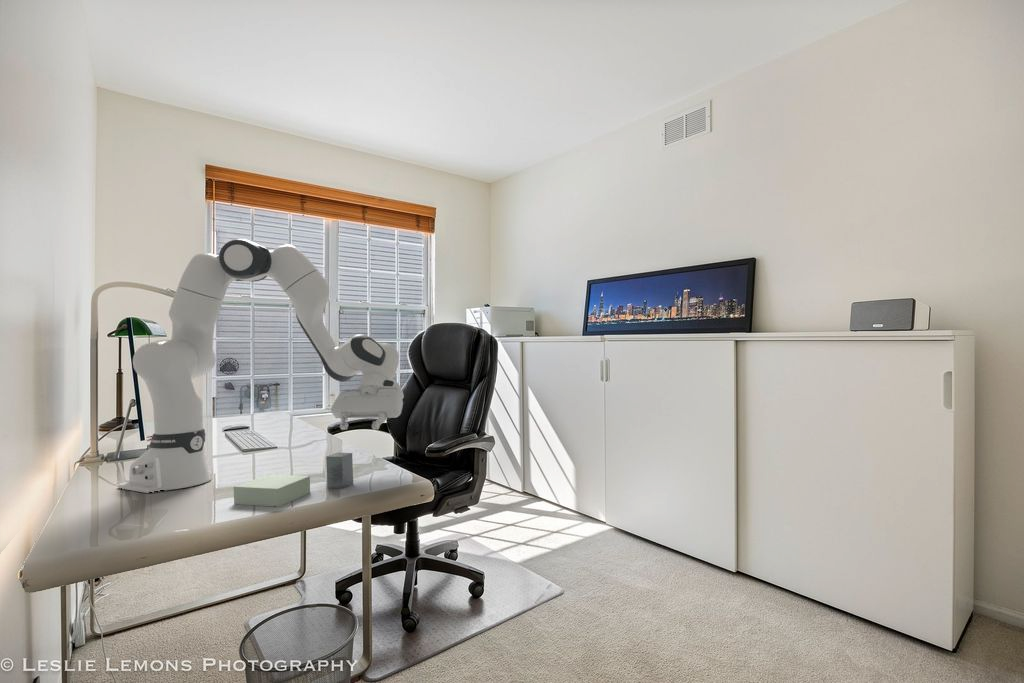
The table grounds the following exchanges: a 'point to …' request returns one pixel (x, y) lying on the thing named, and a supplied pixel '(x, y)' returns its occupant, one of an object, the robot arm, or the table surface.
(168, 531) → the table surface
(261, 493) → the stand
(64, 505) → the table surface
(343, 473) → the block
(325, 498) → the table surface
